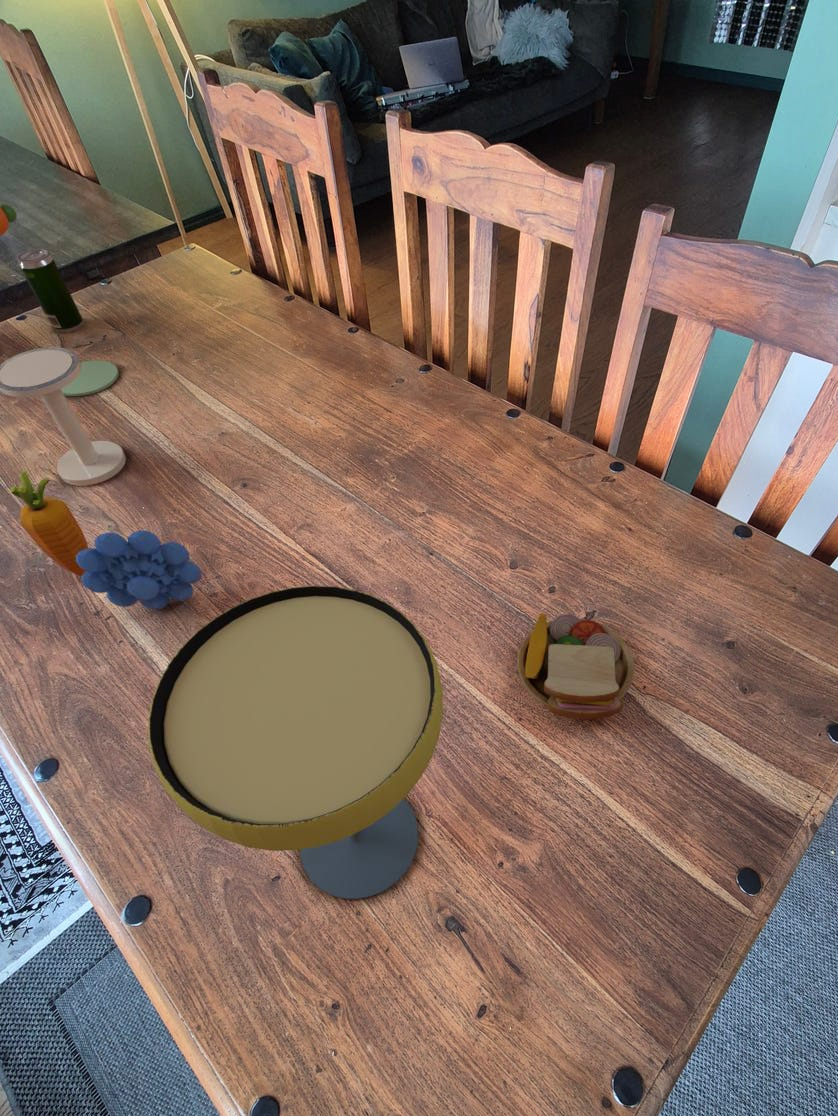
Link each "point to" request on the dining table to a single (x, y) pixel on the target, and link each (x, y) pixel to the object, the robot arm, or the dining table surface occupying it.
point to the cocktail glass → (303, 731)
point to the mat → (92, 378)
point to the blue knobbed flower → (138, 570)
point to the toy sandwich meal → (576, 667)
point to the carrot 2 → (51, 525)
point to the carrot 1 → (6, 217)
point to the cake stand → (61, 411)
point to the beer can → (50, 290)
